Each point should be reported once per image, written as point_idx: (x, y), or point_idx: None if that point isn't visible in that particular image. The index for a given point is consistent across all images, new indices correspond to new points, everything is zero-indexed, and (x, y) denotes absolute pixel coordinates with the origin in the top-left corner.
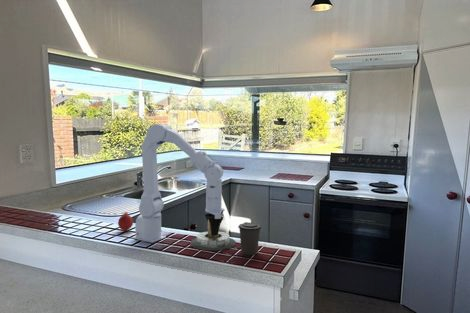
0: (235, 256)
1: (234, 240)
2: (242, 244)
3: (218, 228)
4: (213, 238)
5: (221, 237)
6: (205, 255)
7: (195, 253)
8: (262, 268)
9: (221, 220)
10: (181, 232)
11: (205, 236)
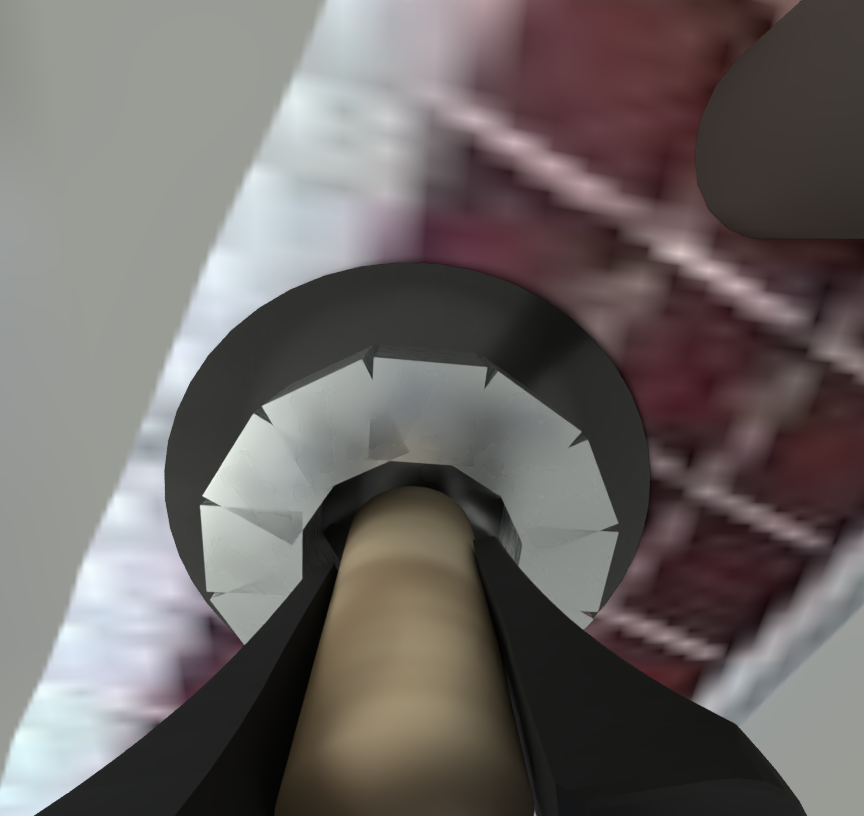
0: (852, 324)
1: (347, 272)
2: None
3: (542, 598)
4: (525, 562)
5: (495, 472)
6: (738, 577)
7: (670, 644)
8: None
9: (701, 721)
10: (72, 765)
11: None
